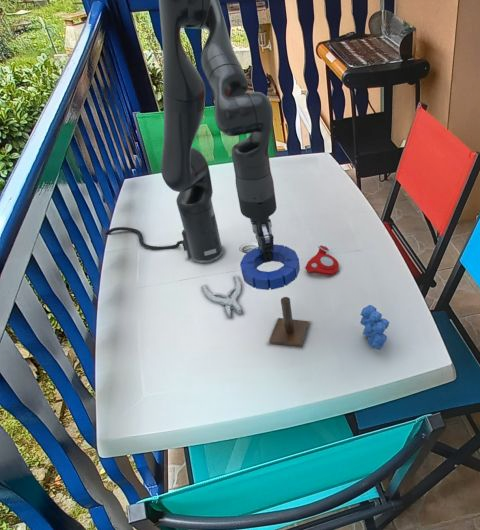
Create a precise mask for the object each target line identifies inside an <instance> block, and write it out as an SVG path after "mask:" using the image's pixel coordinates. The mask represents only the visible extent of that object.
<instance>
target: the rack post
mask: <svg viewBox="0 0 480 530" xmlns="http://www.w3.org/2000/svg"><path fill="white" fill-rule="evenodd" d="M280 305H281V312H282V313H281V314H282V317H278V318H277V320H276V323H275V325H274V328H273V329H272V330H273V331H272V332H271V335H270V338H269V340H268V342H269V344H272V345H280V346H281V345H282V346H290V347H303V345H304V344H303V343H304V340H305V337H306V334H307V331H308V328H309V325H310V322H309V320H303V319H293V311H292V304H291V299H290V297H288V296H283V297H282V298H280Z"/></svg>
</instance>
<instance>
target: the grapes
mask: <svg viewBox="0 0 480 530" xmlns="http://www.w3.org/2000/svg"><path fill="white" fill-rule="evenodd" d="M377 310H378V309H377V307H375V306H374V305H372V304H369V305H367V306H365V307H363V308H362V310H361V312H360V314H359V315H360V316H362V317H361V319H360V322H359V323H360V325H362V326H364V328H363V331H362V335H364V337H367V338H368V339H367V342H366V343H367V344H368V345H370V346H371V347H372V348H374V349H376V350H381V349H383V347H384V345H385V343H386V341H387V339H388V336H387V334H385V333H384V332H385V331H386V330H387V329H388V327H389V325H390V321H389V320H388V319H387V318H384V317H382V316H383V314H382V313H381V312H379V311H377Z"/></svg>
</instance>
